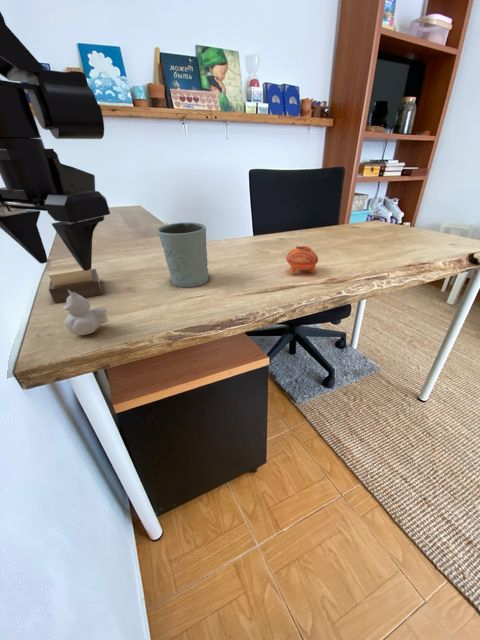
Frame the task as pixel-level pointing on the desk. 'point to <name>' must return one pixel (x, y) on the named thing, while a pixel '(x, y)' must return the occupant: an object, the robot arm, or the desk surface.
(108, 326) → the desk surface
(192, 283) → the grey green cup
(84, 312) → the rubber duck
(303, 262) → the pot
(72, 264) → the memo paper holder
